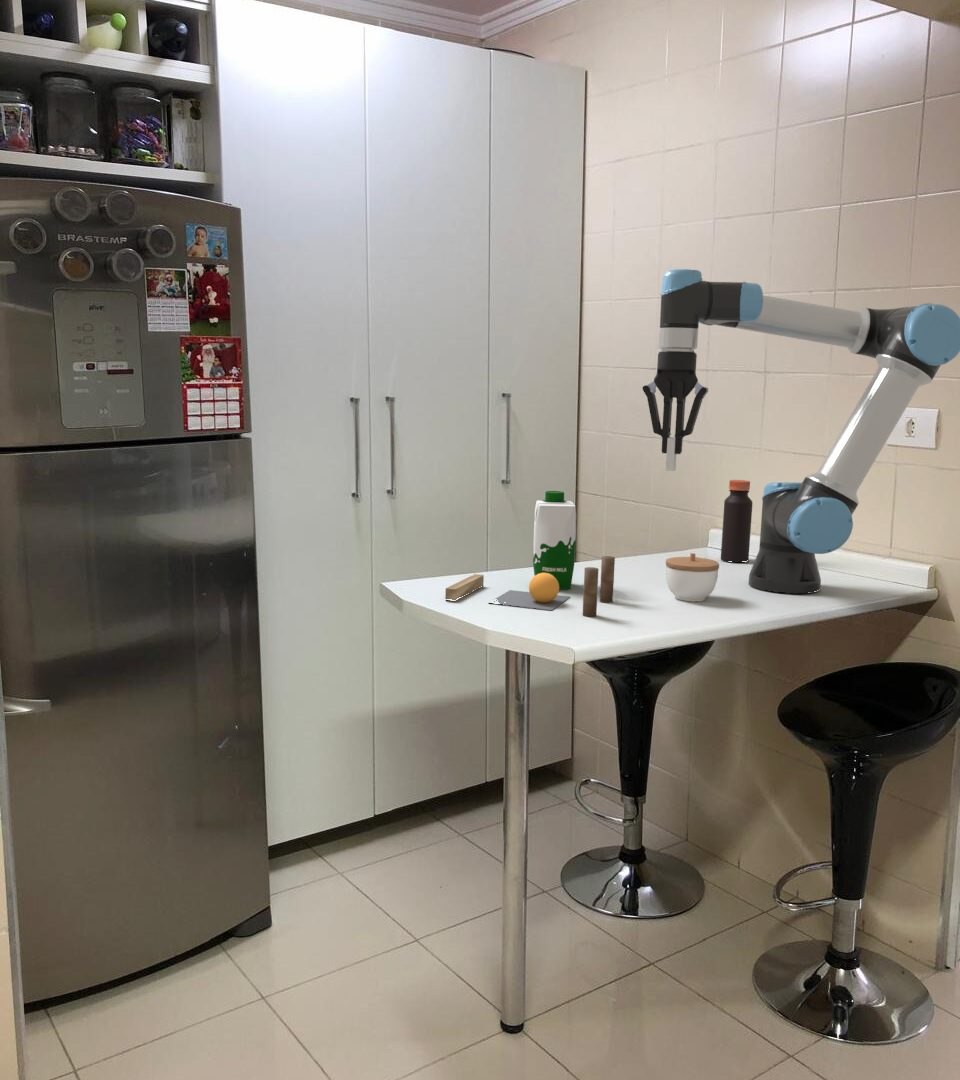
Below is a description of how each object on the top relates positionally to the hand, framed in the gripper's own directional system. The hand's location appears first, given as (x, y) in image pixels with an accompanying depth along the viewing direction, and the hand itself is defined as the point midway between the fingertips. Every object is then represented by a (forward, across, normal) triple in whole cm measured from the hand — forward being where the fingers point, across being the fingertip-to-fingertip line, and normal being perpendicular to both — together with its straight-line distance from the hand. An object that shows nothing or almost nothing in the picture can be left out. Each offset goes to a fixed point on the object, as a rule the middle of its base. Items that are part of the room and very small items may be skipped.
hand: (670, 470), depth 204 cm
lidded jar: (+27, -5, -3) cm, 27 cm away
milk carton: (+27, +24, -1) cm, 36 cm away
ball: (+23, +21, +15) cm, 35 cm away
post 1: (+26, +10, +21) cm, 35 cm away
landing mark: (+26, +24, +14) cm, 39 cm away
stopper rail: (+26, +38, +14) cm, 48 cm away
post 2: (+26, +10, +8) cm, 29 cm away
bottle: (+27, -8, -51) cm, 58 cm away
